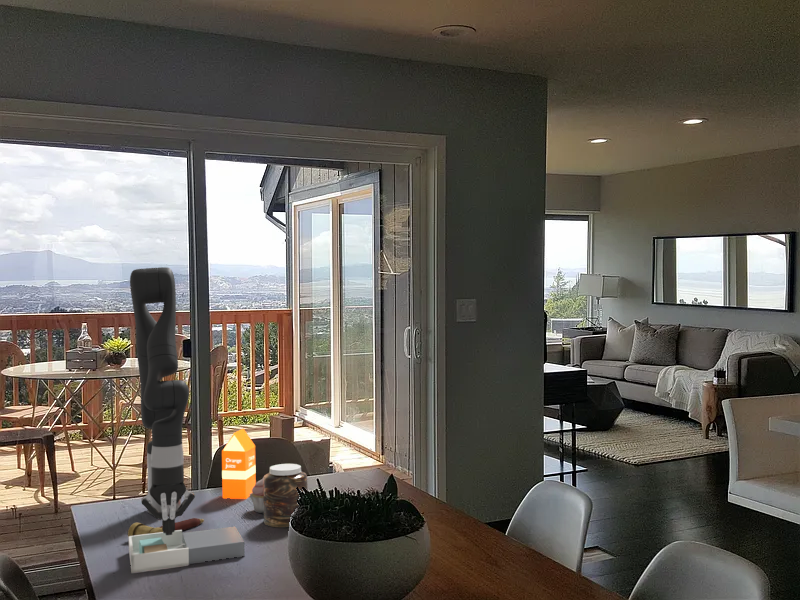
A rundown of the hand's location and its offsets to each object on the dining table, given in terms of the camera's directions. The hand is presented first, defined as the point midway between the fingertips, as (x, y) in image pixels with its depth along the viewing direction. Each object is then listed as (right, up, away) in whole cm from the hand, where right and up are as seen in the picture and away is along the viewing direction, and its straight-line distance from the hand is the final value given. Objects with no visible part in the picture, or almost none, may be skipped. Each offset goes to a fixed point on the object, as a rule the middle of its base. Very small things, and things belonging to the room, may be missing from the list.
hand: (168, 534), depth 186 cm
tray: (-1, -5, -4) cm, 6 cm away
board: (+11, -4, 0) cm, 12 cm away
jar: (+25, -4, +24) cm, 35 cm away
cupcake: (+17, -4, +35) cm, 40 cm away
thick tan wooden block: (-1, -1, -8) cm, 8 cm away
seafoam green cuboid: (-3, -1, -3) cm, 4 cm away
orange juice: (+6, -4, +52) cm, 53 cm away
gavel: (-3, -5, +15) cm, 16 cm away
